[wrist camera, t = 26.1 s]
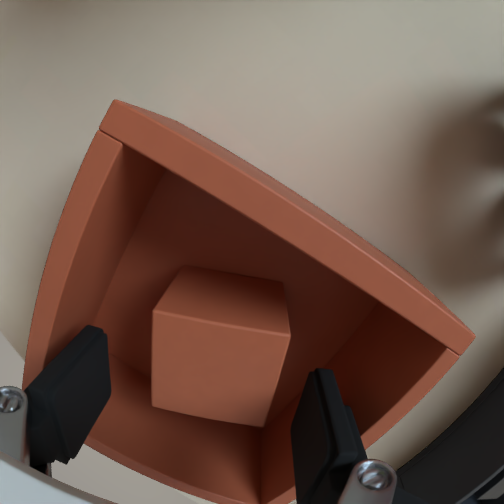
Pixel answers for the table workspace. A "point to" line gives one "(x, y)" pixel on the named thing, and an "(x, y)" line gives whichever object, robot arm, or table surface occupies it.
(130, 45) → the table surface
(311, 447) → the robot arm
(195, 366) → the terracotta block
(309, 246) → the terracotta bin
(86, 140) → the table surface
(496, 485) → the charcoal block
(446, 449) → the charcoal bin
